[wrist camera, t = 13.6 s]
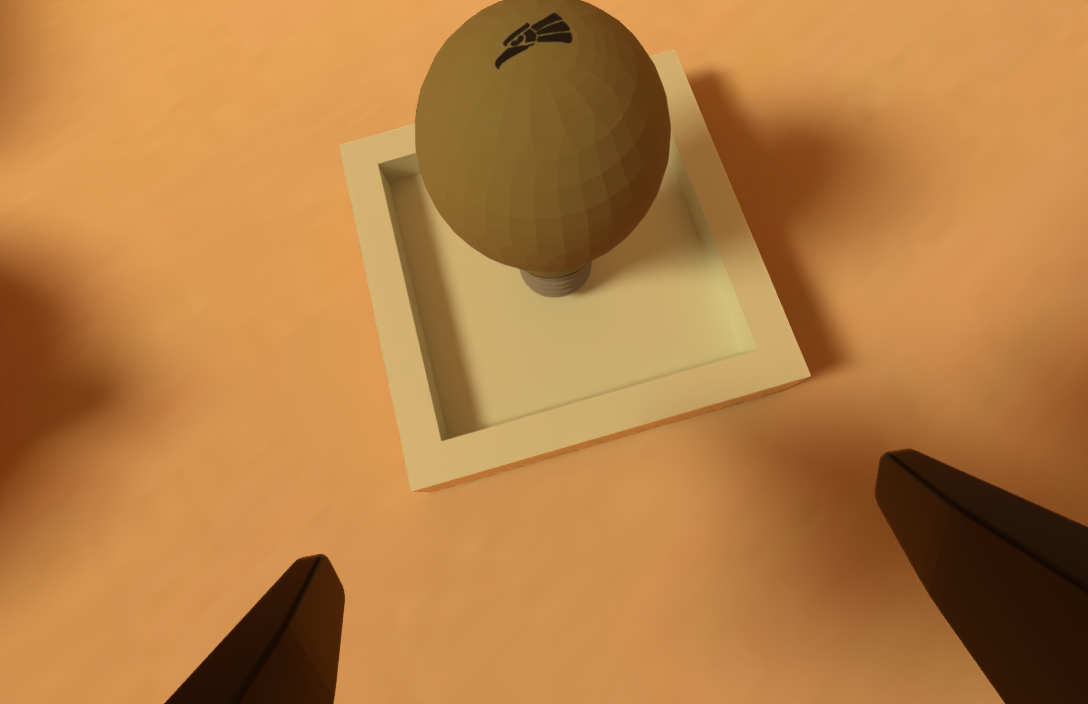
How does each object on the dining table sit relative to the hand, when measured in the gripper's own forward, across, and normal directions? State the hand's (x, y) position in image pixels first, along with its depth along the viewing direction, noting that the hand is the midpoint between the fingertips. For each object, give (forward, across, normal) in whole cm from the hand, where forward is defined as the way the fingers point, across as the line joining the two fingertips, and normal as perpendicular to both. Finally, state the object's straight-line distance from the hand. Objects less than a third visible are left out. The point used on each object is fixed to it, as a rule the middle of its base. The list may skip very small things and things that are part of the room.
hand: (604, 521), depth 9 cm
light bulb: (+12, 0, 0) cm, 12 cm away
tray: (+13, 0, +1) cm, 13 cm away
